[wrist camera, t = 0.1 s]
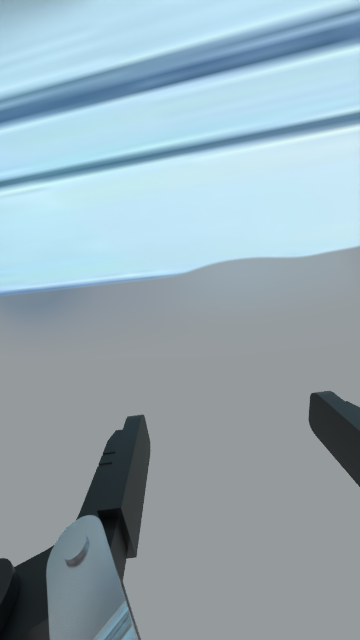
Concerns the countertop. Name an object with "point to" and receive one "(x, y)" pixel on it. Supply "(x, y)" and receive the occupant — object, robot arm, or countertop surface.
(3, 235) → the countertop surface
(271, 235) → the countertop surface
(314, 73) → the countertop surface
